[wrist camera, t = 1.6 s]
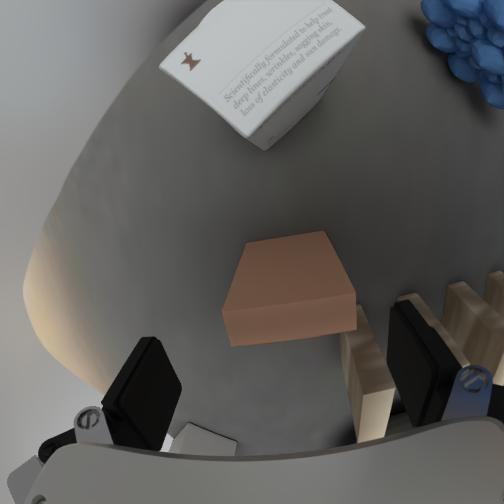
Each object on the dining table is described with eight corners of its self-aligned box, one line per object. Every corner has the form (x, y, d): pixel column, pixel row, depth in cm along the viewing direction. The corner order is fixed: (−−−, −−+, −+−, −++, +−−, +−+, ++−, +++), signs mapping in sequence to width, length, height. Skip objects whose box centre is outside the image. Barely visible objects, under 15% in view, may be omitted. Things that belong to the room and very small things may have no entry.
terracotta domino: (246, 243, 22) (221, 312, 13) (324, 230, 21) (355, 292, 12) (251, 266, 23) (231, 346, 13) (327, 254, 22) (356, 329, 12)
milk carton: (237, 440, 31) (215, 564, 14) (216, 457, 34) (192, 561, 16) (189, 421, 31) (148, 546, 13) (172, 439, 33) (136, 545, 15)
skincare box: (266, 153, 19) (248, 154, 8) (221, 113, 19) (147, 71, 7) (324, 96, 18) (379, 33, 6) (278, 57, 17) (275, -40, 5)
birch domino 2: (416, 292, 22) (469, 363, 13) (410, 343, 24) (447, 417, 14) (397, 296, 22) (445, 372, 13) (393, 348, 24) (426, 425, 15)
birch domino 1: (360, 304, 23) (395, 387, 13) (360, 355, 25) (383, 437, 15) (338, 308, 23) (363, 395, 14) (340, 359, 25) (357, 443, 16)
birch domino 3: (462, 280, 21) (522, 339, 12) (454, 331, 23) (498, 394, 14) (447, 285, 21) (505, 347, 12) (439, 335, 23) (481, 402, 14)
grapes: (506, 99, 14) (596, 97, 3) (477, 136, 16) (581, 146, 5) (429, -1, 12) (497, -56, 1) (390, 27, 14) (463, -43, 3)
